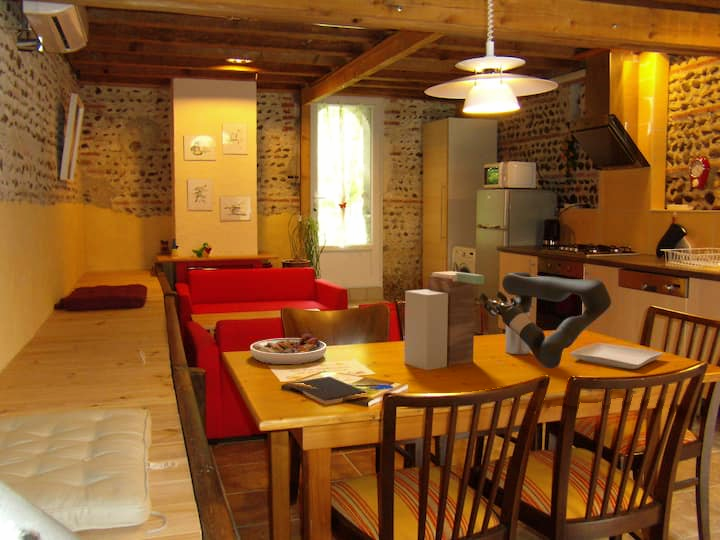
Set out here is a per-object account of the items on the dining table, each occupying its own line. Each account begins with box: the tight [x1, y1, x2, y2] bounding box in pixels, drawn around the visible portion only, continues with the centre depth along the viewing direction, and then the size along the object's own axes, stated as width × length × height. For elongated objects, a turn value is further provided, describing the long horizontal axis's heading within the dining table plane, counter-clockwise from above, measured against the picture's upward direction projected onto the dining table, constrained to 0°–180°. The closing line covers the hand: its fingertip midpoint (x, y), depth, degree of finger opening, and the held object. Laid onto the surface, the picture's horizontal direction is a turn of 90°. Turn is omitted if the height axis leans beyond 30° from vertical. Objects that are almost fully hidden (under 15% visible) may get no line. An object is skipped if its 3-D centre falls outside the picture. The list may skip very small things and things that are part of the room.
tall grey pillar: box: [404, 288, 448, 371], centre depth 258 cm, size 13×10×28 cm
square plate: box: [569, 342, 664, 370], centre depth 268 cm, size 27×27×4 cm
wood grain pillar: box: [427, 275, 476, 367], centre depth 264 cm, size 13×12×33 cm
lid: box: [431, 270, 485, 285], centre depth 259 cm, size 21×10×3 cm, turn 35°
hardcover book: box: [292, 376, 367, 406], centre depth 221 cm, size 16×23×2 cm
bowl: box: [249, 333, 327, 365], centre depth 270 cm, size 30×30×8 cm
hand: (490, 294), depth 246 cm, fingers open, 8 cm apart
